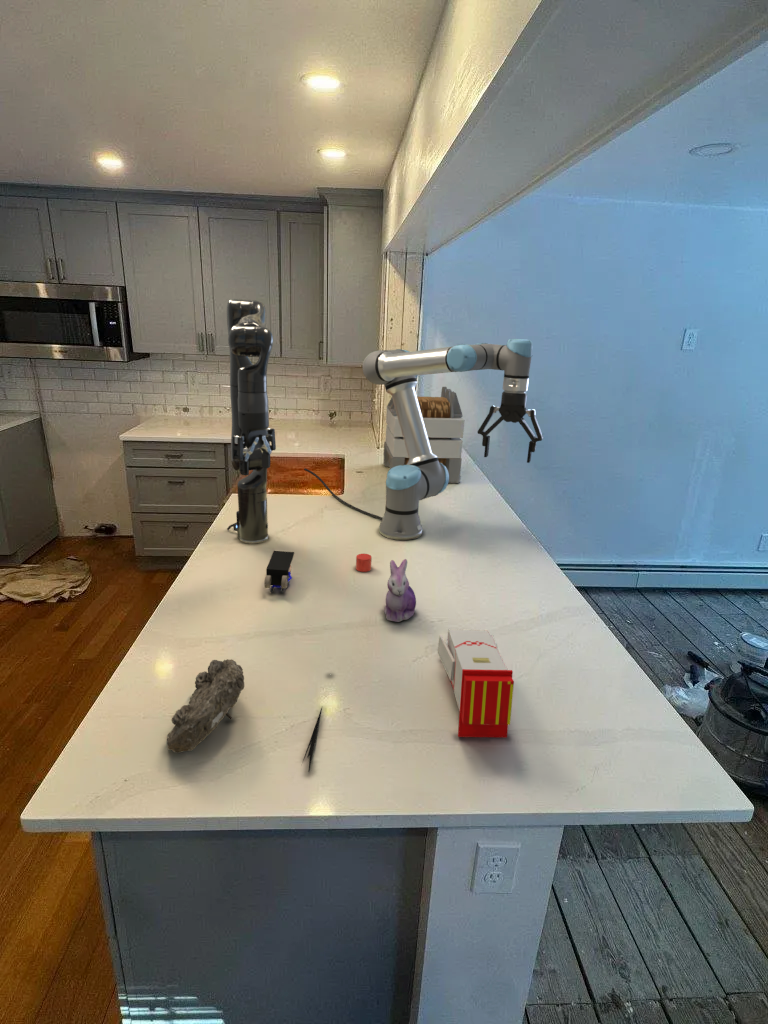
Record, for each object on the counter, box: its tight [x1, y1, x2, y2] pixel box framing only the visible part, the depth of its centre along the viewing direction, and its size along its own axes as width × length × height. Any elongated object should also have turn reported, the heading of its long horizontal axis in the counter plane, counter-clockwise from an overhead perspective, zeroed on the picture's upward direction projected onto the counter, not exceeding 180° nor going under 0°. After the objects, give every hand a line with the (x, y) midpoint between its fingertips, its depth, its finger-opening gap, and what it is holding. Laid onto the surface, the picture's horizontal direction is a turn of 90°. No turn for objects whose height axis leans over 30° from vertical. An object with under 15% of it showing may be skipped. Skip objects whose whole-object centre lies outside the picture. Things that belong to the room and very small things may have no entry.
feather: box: [301, 673, 332, 771], centre depth 108 cm, size 2×28×2 cm
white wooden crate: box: [383, 386, 465, 484], centre depth 268 cm, size 34×33×41 cm
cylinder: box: [355, 553, 373, 573], centre depth 171 cm, size 5×5×4 cm
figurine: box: [384, 558, 417, 623], centre depth 145 cm, size 9×10×15 cm
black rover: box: [264, 550, 295, 594], centre depth 159 cm, size 7×8×15 cm
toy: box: [437, 628, 515, 738], centre depth 117 cm, size 12×13×30 cm
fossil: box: [166, 658, 245, 754], centre depth 106 cm, size 22×10×15 cm
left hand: (255, 471), depth 149 cm, fingers open, 8 cm apart
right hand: (507, 459), depth 181 cm, fingers open, 13 cm apart
